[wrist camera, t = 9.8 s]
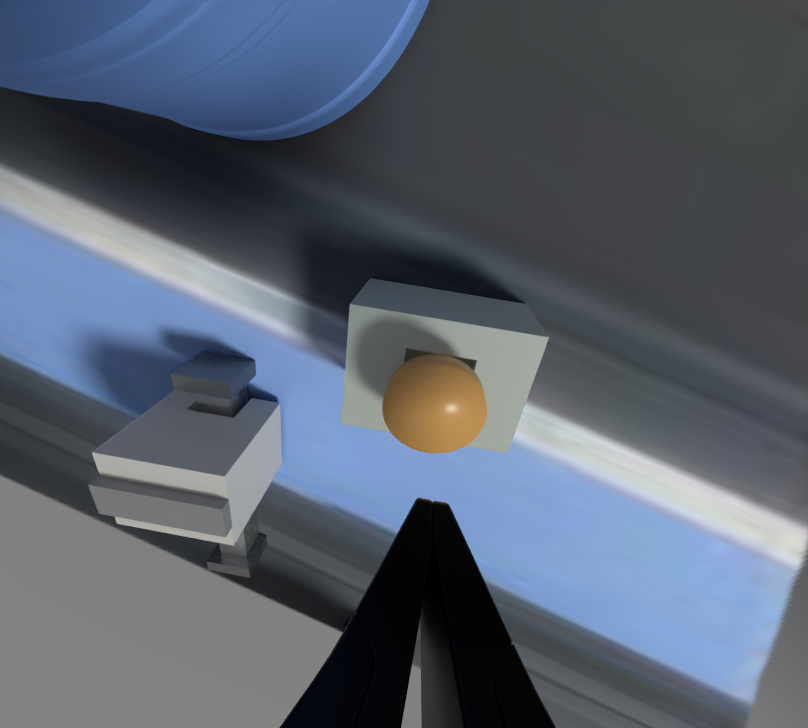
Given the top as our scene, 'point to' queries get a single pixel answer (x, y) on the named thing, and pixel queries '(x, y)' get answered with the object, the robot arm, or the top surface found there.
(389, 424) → the button
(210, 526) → the carriage
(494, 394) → the cabinet
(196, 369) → the rail
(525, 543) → the top surface
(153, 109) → the water jug
